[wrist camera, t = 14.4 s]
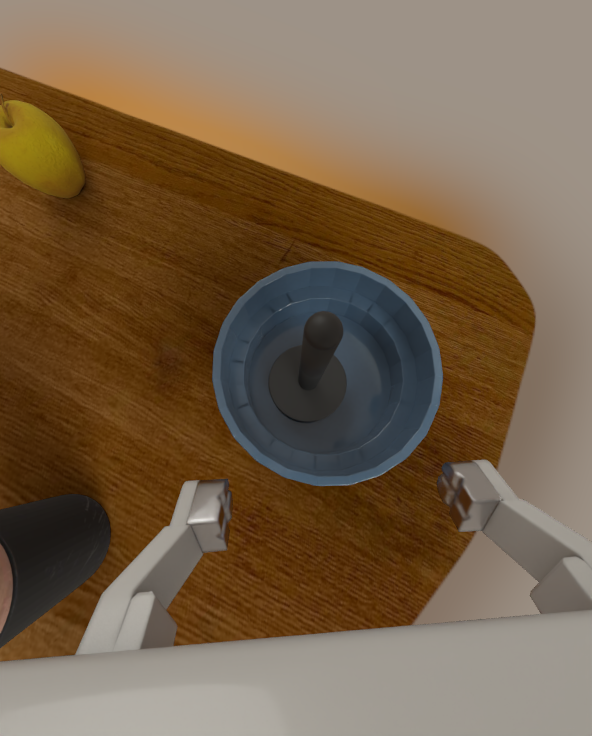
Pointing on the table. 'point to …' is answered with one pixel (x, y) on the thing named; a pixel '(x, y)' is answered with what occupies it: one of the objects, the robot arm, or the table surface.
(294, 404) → the joystick
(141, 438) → the table surface
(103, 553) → the travel mug
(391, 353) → the bowl
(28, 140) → the yellow fruit
